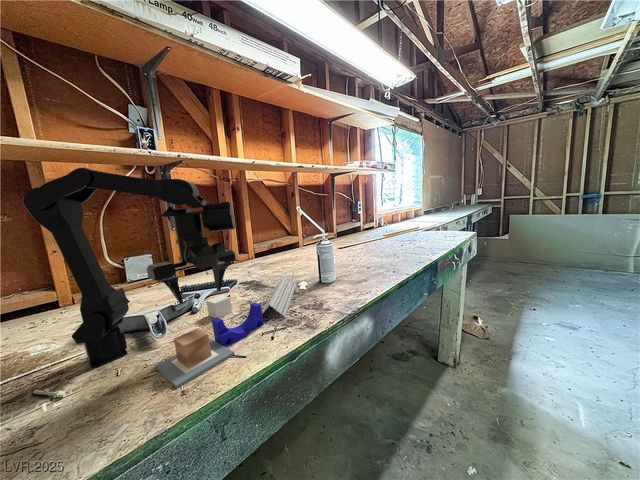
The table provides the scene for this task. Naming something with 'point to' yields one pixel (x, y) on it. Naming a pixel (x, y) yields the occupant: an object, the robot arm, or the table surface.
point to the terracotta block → (192, 347)
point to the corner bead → (281, 296)
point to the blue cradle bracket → (235, 334)
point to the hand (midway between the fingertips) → (201, 296)
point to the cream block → (219, 306)
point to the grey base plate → (182, 374)
